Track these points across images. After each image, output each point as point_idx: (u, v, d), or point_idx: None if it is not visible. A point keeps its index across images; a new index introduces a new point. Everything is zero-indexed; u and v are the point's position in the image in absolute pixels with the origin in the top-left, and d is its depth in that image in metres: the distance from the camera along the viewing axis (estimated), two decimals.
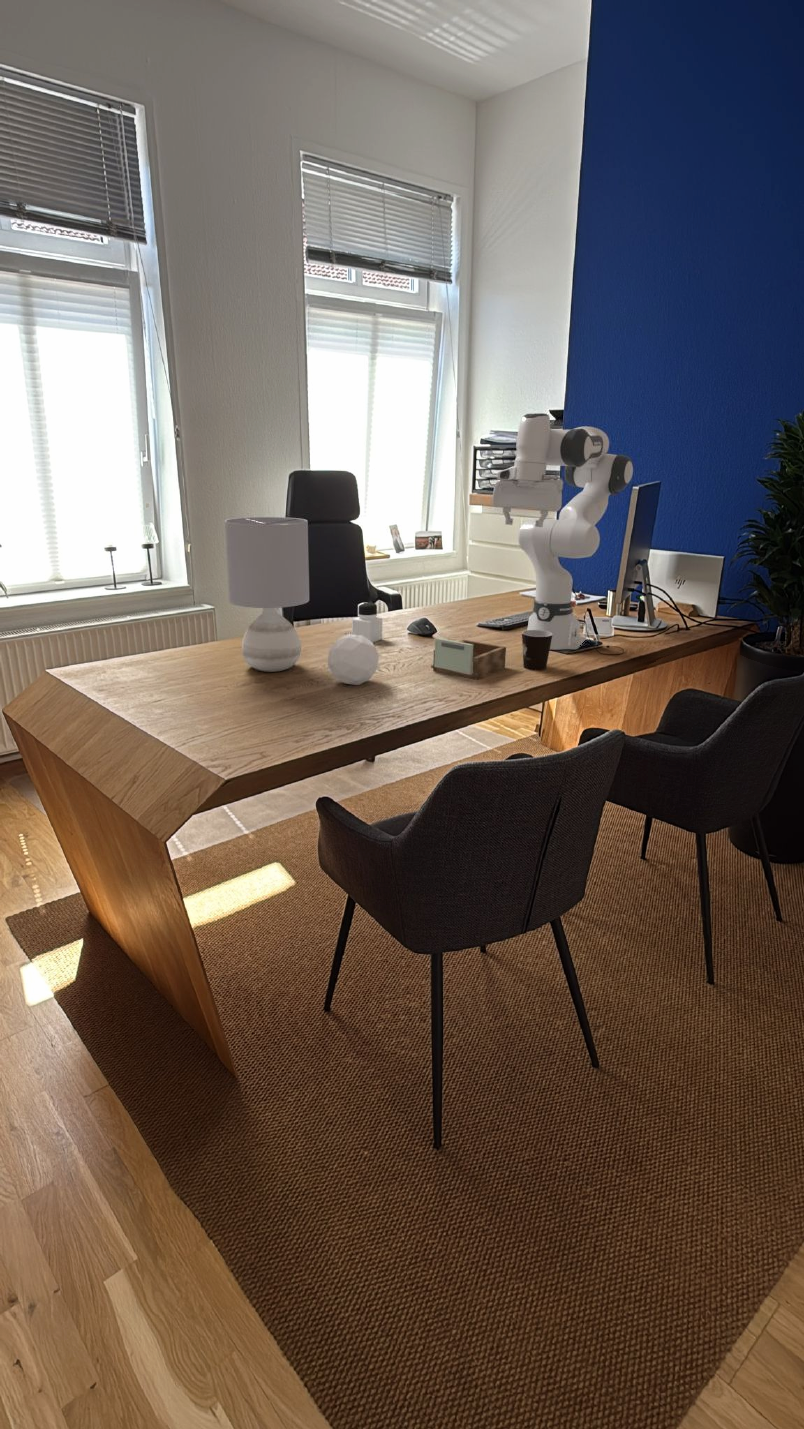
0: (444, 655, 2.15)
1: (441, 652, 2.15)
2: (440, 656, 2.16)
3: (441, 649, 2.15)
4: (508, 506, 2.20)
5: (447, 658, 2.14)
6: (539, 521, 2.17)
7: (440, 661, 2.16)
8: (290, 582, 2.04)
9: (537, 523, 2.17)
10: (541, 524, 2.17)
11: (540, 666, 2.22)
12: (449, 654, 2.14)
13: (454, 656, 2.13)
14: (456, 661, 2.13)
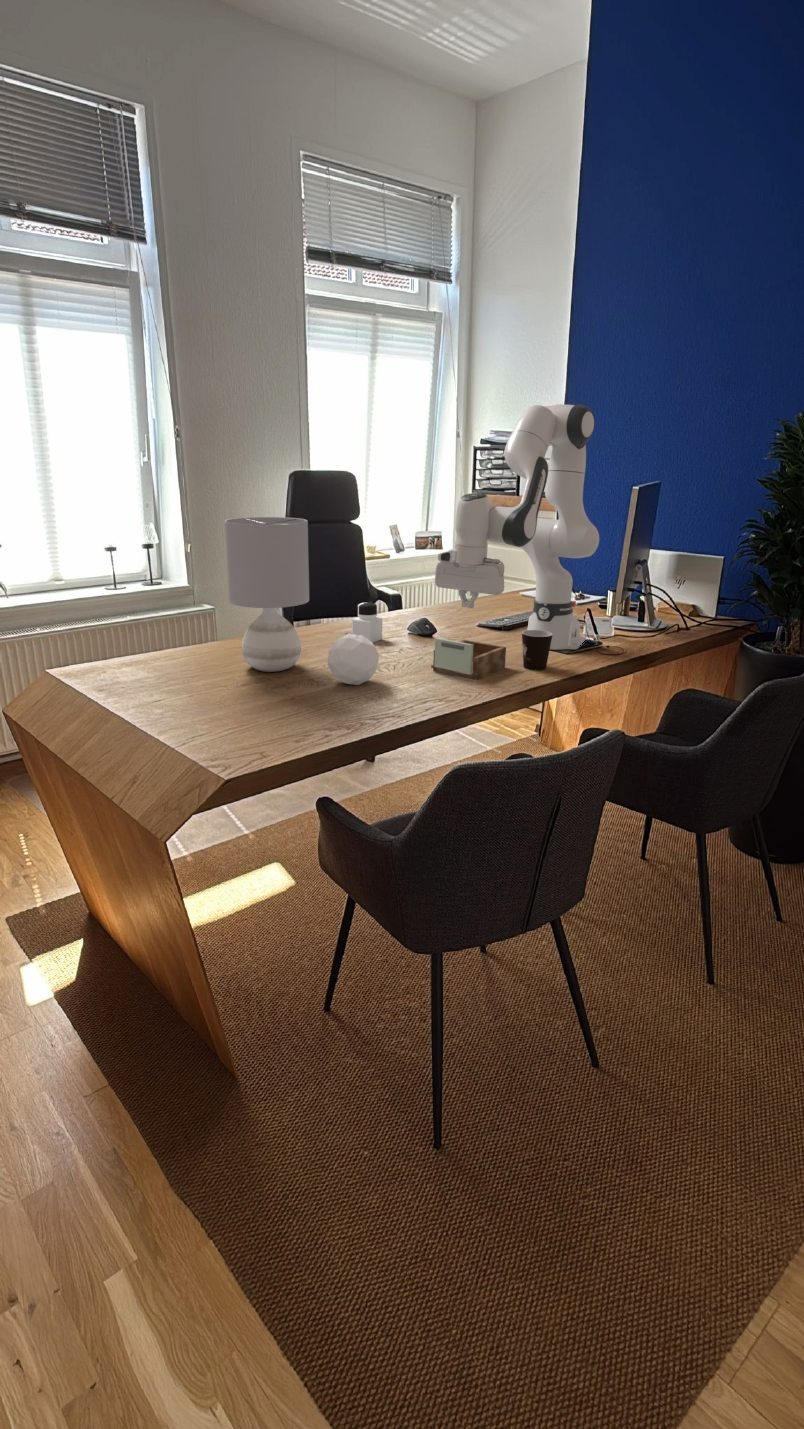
0: (444, 655, 2.15)
1: (441, 652, 2.15)
2: (440, 656, 2.16)
3: (441, 649, 2.15)
4: (451, 588, 2.14)
5: (447, 658, 2.14)
6: (470, 602, 2.13)
7: (440, 661, 2.16)
8: (290, 582, 2.04)
9: (468, 604, 2.13)
10: (472, 605, 2.14)
11: (540, 666, 2.22)
12: (449, 654, 2.14)
13: (454, 656, 2.13)
14: (456, 661, 2.13)
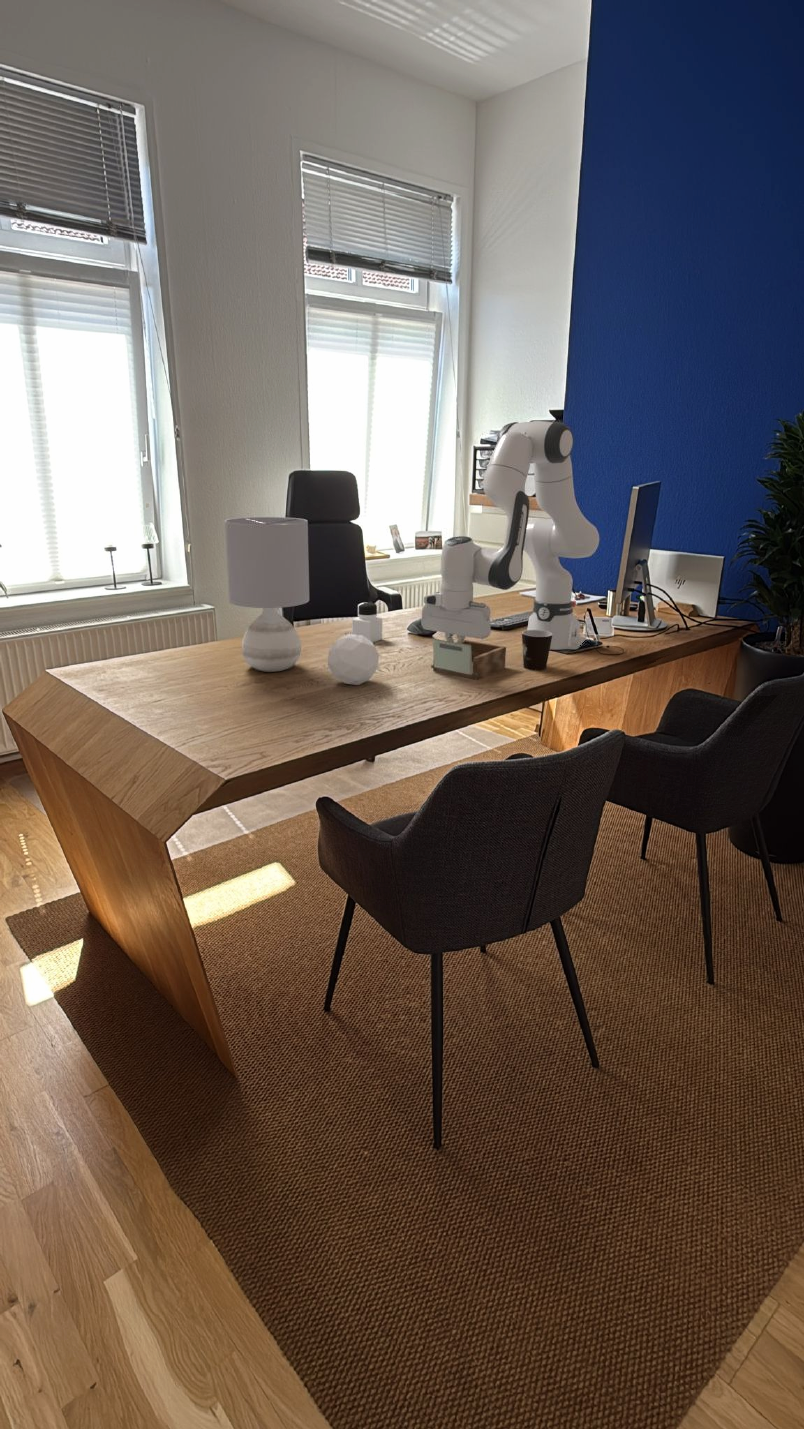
0: (443, 656, 2.14)
1: (440, 653, 2.15)
2: (439, 657, 2.15)
3: (440, 650, 2.14)
4: (437, 630, 2.13)
5: (446, 659, 2.14)
6: None
7: (439, 662, 2.16)
8: (290, 582, 2.04)
9: None
10: None
11: (540, 666, 2.22)
12: (448, 655, 2.13)
13: (453, 657, 2.12)
14: (455, 661, 2.13)
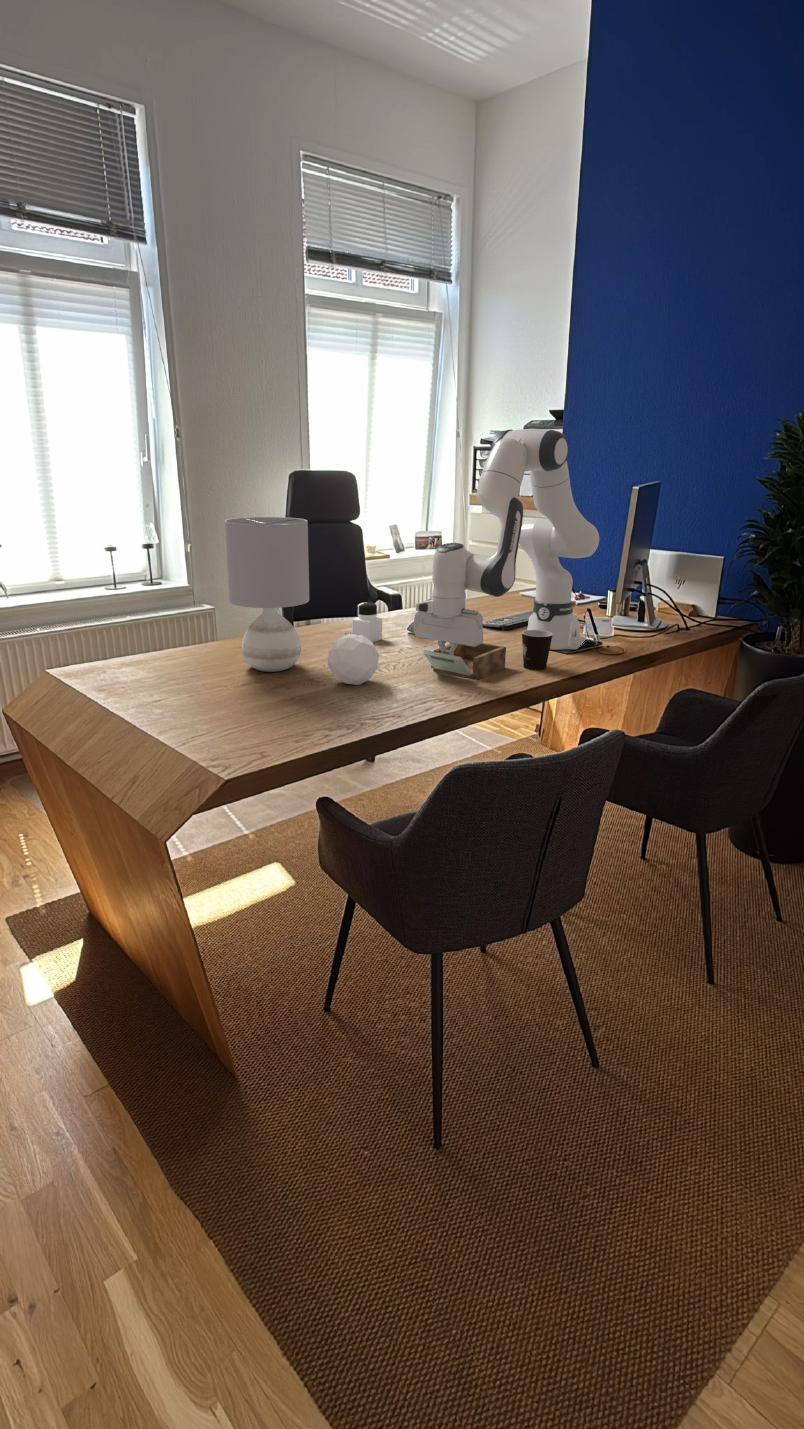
0: (438, 663, 2.13)
1: (434, 661, 2.13)
2: (435, 663, 2.14)
3: (433, 659, 2.13)
4: (430, 638, 2.11)
5: (442, 665, 2.13)
6: (449, 653, 2.09)
7: (437, 666, 2.15)
8: (290, 582, 2.04)
9: None
10: None
11: (540, 666, 2.22)
12: (443, 663, 2.12)
13: (448, 664, 2.11)
14: (451, 667, 2.12)
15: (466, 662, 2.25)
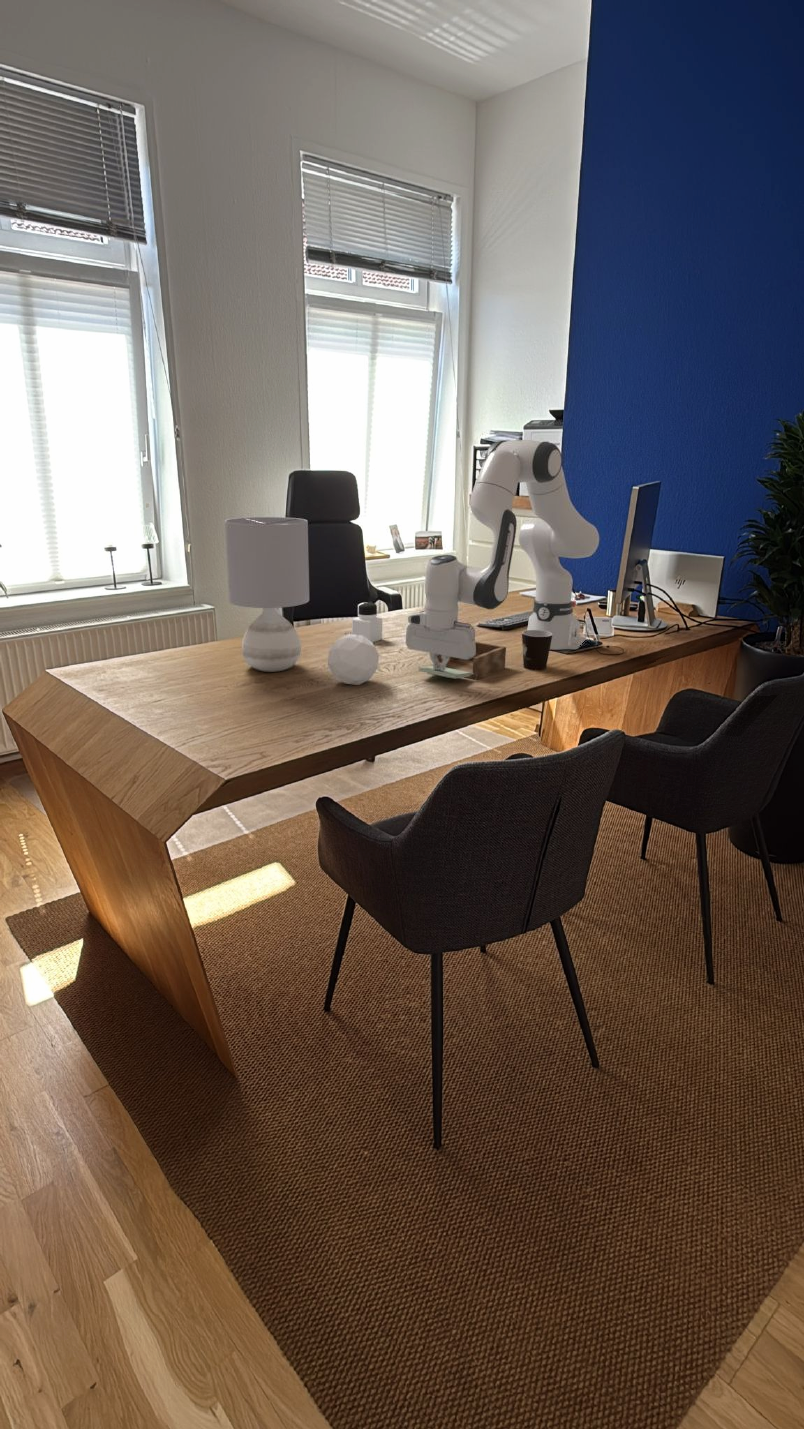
0: None
1: None
2: None
3: None
4: (422, 650, 2.09)
5: None
6: (441, 665, 2.07)
7: None
8: (290, 582, 2.04)
9: (439, 667, 2.08)
10: (444, 668, 2.08)
11: (540, 666, 2.22)
12: None
13: None
14: None
15: (466, 662, 2.25)
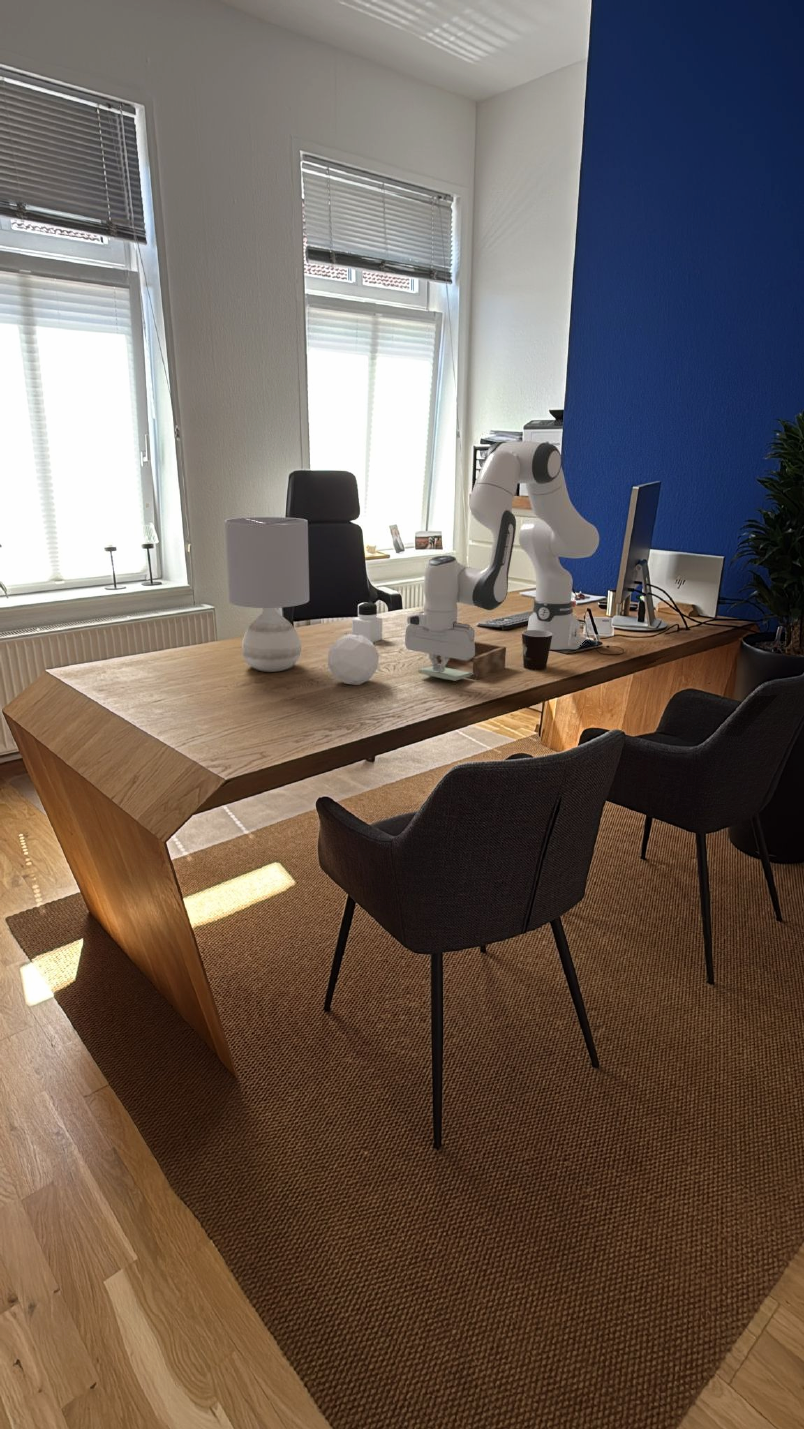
0: None
1: None
2: None
3: None
4: (421, 651, 2.09)
5: None
6: (440, 666, 2.07)
7: None
8: (290, 582, 2.04)
9: (438, 668, 2.08)
10: (443, 669, 2.08)
11: (540, 666, 2.22)
12: None
13: None
14: None
15: (466, 662, 2.25)
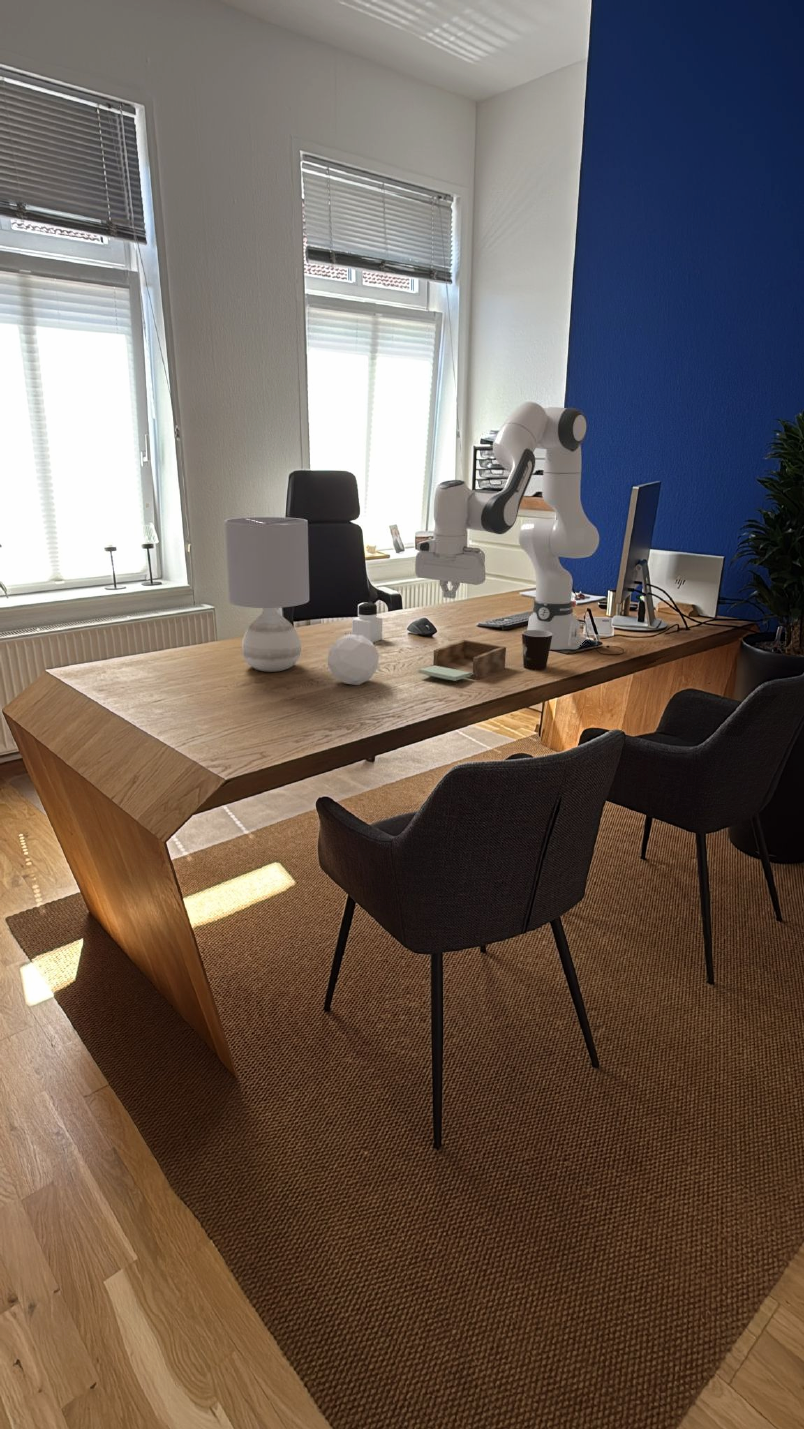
0: None
1: None
2: None
3: None
4: (431, 578, 2.09)
5: None
6: (451, 593, 2.08)
7: None
8: (290, 582, 2.04)
9: (449, 595, 2.08)
10: (454, 595, 2.08)
11: (540, 666, 2.22)
12: None
13: None
14: None
15: (466, 662, 2.25)
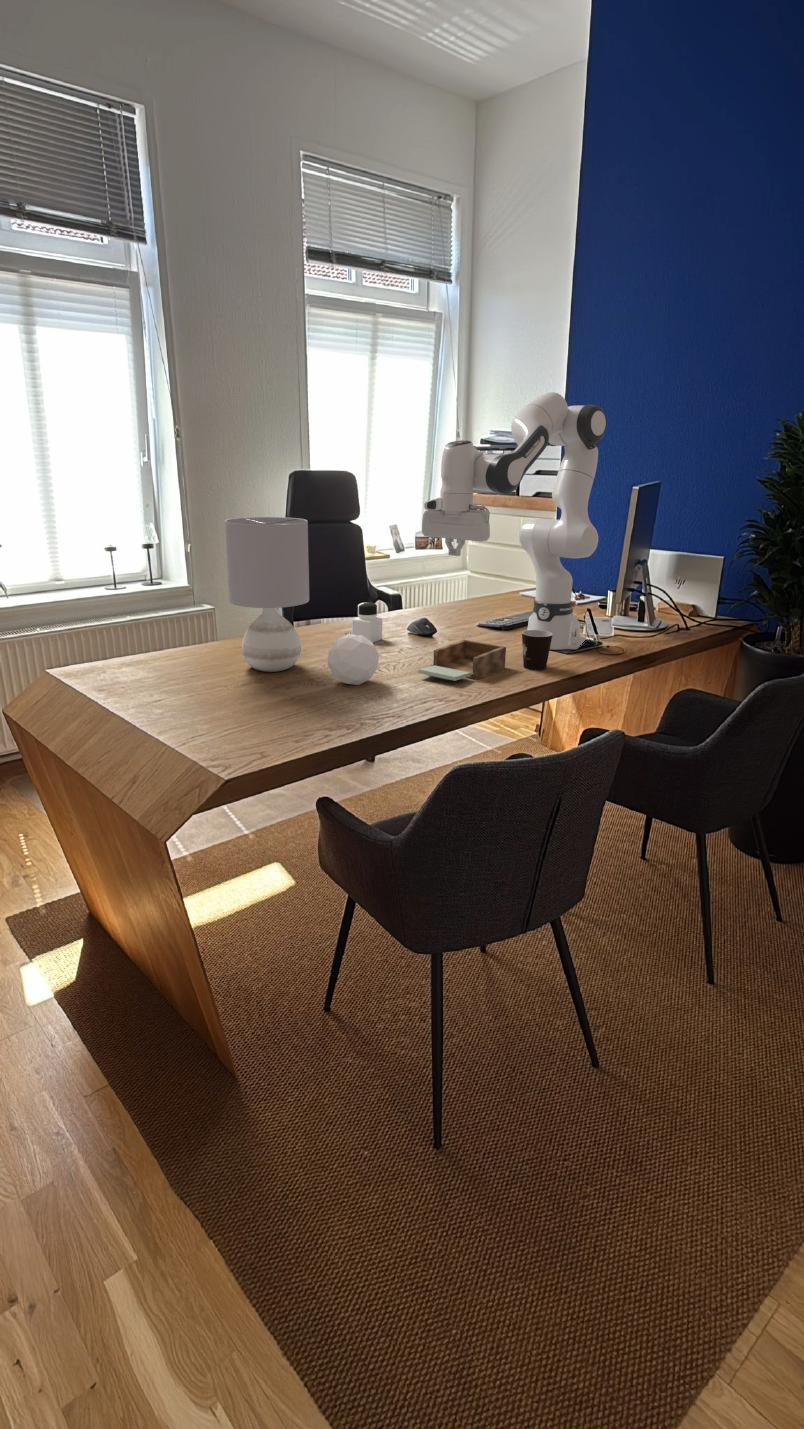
0: None
1: None
2: None
3: None
4: (437, 536, 2.16)
5: None
6: (456, 550, 2.15)
7: None
8: (290, 582, 2.04)
9: (454, 552, 2.15)
10: (458, 553, 2.16)
11: (540, 666, 2.22)
12: None
13: None
14: None
15: (466, 662, 2.25)
